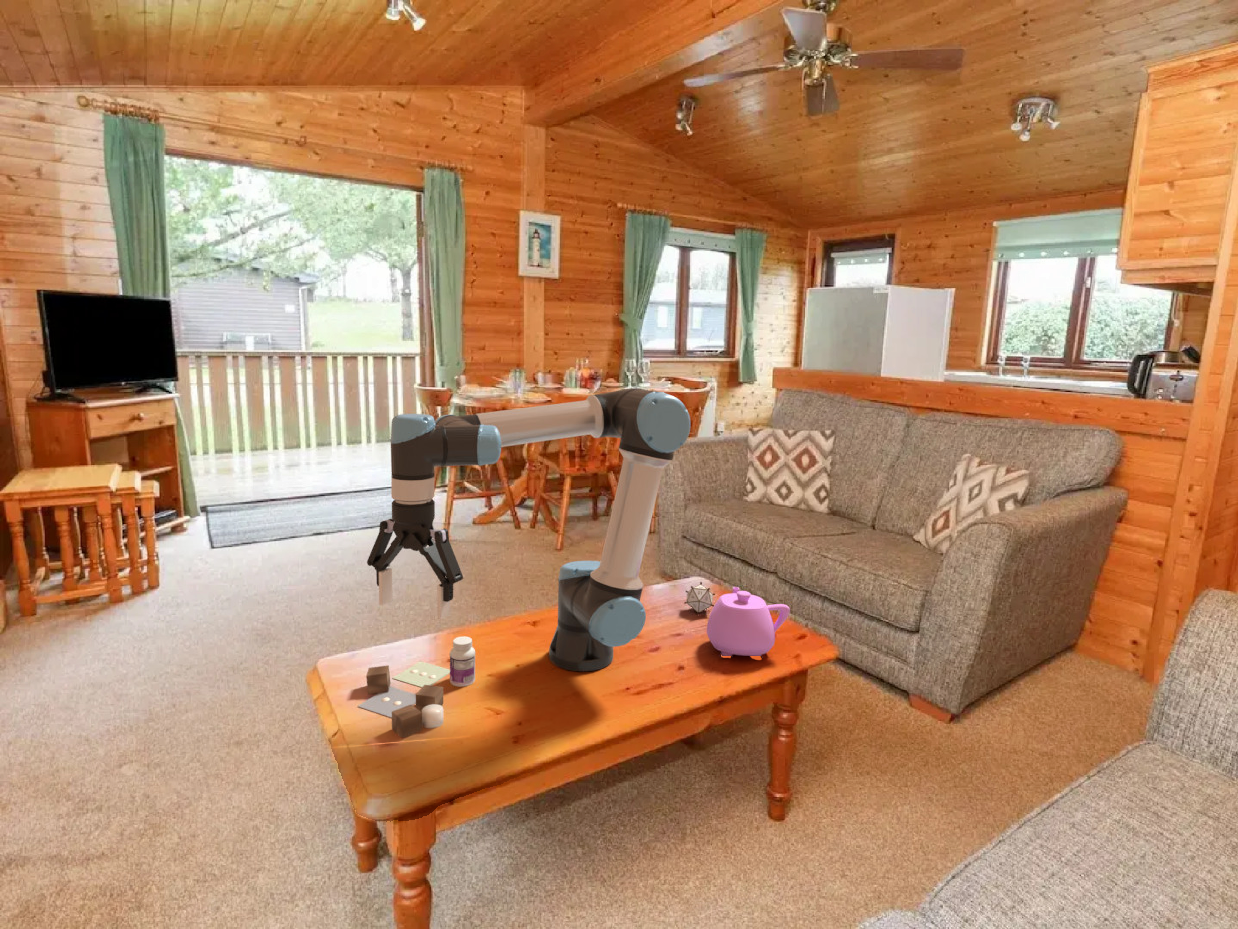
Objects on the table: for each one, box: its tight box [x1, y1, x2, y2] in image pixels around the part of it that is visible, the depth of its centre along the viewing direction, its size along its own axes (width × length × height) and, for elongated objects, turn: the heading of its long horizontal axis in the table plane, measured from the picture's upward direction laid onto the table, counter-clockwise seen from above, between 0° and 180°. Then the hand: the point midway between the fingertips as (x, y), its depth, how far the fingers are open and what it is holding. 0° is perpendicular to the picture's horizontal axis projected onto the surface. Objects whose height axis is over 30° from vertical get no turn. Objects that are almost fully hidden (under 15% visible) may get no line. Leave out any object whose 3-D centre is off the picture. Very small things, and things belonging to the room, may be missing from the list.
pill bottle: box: [449, 636, 476, 687], centre depth 148 cm, size 5×5×10 cm
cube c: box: [365, 665, 391, 695], centre depth 144 cm, size 4×4×4 cm
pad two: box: [357, 685, 417, 719], centre depth 139 cm, size 9×9×1 cm
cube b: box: [391, 705, 423, 739], centre depth 129 cm, size 4×4×4 cm
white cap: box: [422, 704, 444, 729], centre depth 132 cm, size 4×4×3 cm
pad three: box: [392, 660, 450, 689], centre depth 151 cm, size 9×9×1 cm
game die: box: [683, 581, 716, 613], centre depth 193 cm, size 9×8×10 cm
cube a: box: [415, 685, 444, 712], centre depth 137 cm, size 4×4×4 cm
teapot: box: [706, 586, 791, 657], centre depth 171 cm, size 20×20×15 cm
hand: (414, 609), depth 129 cm, fingers open, 13 cm apart
